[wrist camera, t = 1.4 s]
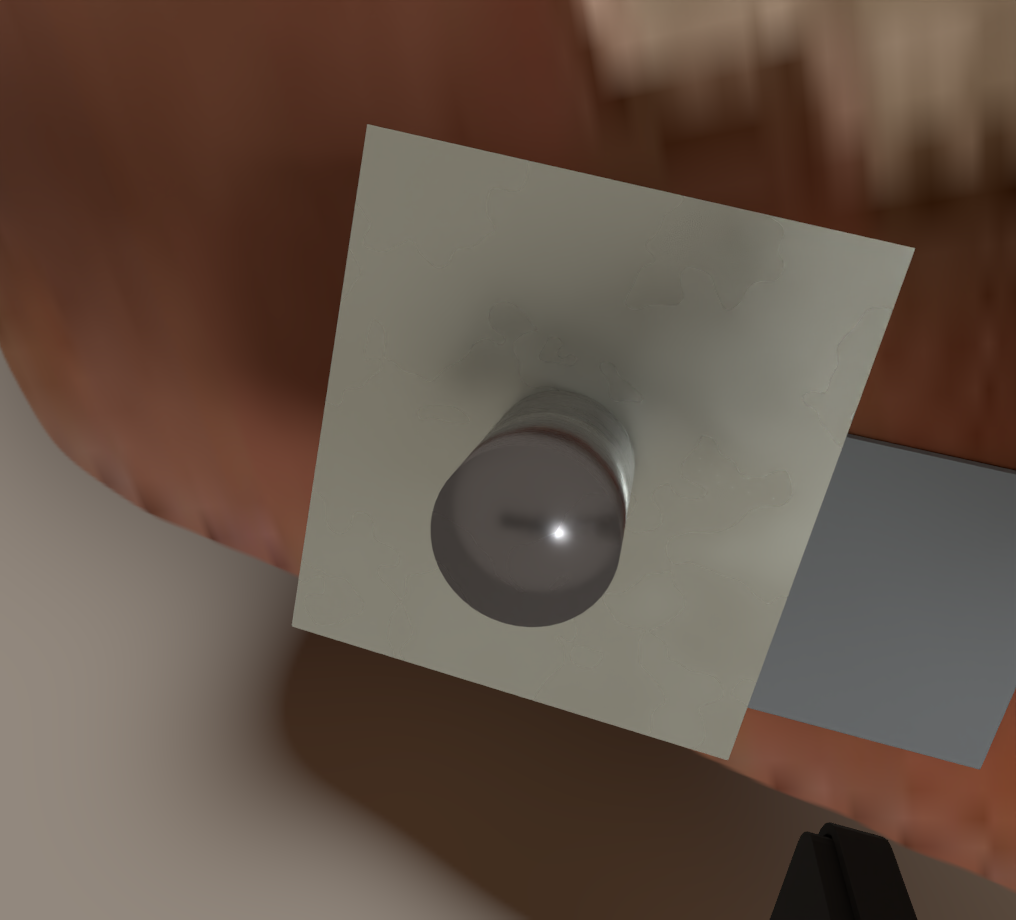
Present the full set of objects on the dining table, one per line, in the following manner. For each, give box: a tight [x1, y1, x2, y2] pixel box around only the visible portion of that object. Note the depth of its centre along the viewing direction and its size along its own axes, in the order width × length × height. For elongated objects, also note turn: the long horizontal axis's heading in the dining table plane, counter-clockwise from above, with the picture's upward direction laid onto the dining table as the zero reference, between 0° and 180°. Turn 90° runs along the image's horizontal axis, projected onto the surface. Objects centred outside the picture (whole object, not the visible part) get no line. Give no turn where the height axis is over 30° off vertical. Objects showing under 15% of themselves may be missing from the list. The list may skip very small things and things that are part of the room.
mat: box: [748, 434, 1016, 769], centre depth 38 cm, size 14×14×1 cm
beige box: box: [292, 124, 915, 760], centre depth 26 cm, size 12×13×23 cm
